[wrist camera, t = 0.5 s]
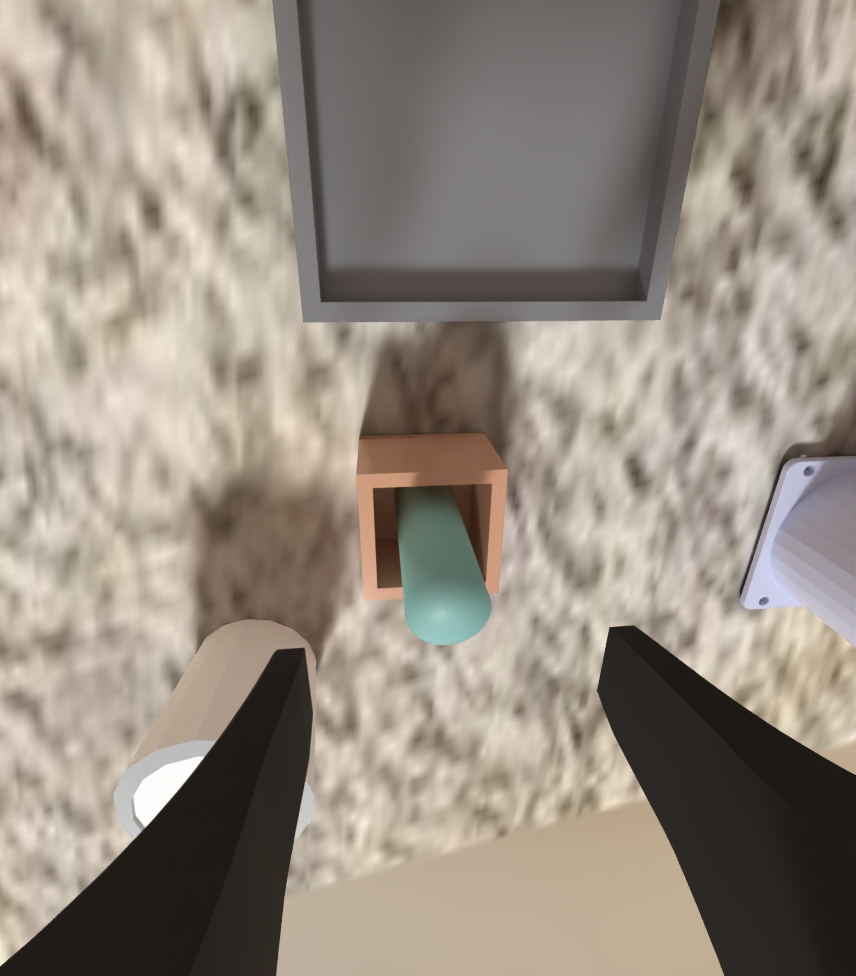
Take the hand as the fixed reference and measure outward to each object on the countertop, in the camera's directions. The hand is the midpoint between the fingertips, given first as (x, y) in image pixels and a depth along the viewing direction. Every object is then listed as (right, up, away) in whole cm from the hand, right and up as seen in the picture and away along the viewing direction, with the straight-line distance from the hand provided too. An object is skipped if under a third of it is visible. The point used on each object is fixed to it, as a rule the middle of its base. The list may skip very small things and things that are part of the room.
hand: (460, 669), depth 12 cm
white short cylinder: (-9, -4, +12) cm, 16 cm away
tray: (+1, +15, +4) cm, 16 cm away
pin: (-1, +4, +9) cm, 10 cm away
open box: (-1, +4, +9) cm, 10 cm away
